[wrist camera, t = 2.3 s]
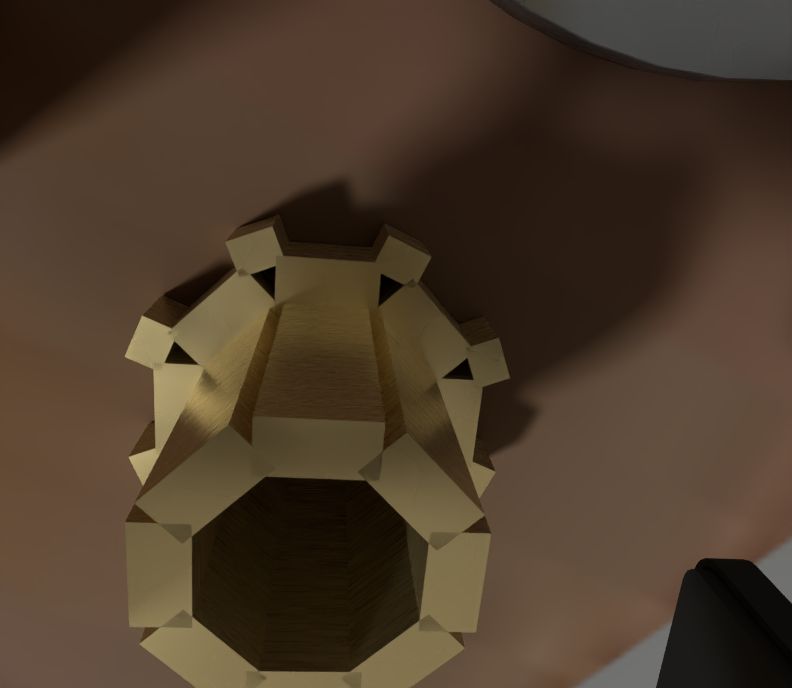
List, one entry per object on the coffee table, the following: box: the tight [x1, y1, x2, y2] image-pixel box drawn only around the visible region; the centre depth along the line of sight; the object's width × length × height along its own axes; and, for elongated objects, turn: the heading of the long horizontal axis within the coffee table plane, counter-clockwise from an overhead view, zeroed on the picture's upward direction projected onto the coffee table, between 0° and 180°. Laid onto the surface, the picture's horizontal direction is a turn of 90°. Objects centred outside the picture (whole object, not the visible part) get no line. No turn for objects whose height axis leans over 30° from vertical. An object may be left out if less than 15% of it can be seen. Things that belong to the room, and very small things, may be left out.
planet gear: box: [125, 215, 510, 688], centre depth 12 cm, size 8×7×6 cm
